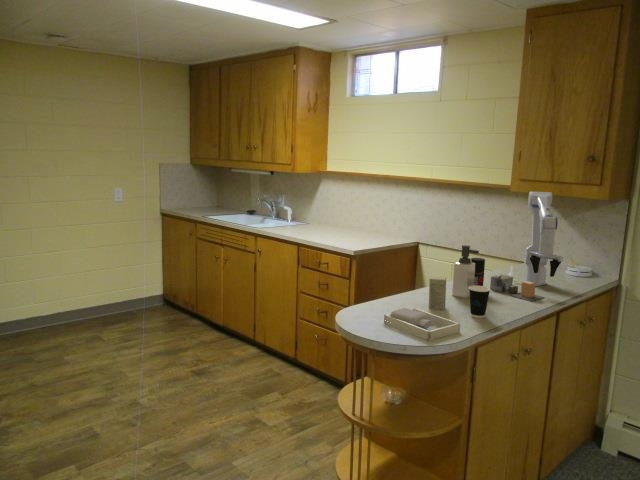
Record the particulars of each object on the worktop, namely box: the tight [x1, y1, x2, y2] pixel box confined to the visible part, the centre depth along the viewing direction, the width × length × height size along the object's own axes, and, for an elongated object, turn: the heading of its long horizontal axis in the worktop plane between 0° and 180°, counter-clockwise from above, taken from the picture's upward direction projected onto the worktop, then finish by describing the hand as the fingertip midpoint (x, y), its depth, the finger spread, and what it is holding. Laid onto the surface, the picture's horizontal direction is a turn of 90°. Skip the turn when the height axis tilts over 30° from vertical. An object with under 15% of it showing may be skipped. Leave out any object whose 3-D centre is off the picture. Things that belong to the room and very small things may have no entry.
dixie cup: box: [469, 285, 492, 319], centre depth 198 cm, size 8×8×11 cm
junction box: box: [489, 274, 514, 294], centre depth 238 cm, size 9×7×7 cm
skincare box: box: [428, 276, 447, 311], centre depth 208 cm, size 6×4×12 cm
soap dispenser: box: [452, 244, 480, 299], centre depth 225 cm, size 6×9×22 cm
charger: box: [391, 307, 436, 329], centre depth 185 cm, size 5×9×15 cm
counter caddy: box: [383, 307, 461, 342], centre depth 185 cm, size 16×22×3 cm
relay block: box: [520, 280, 536, 298], centre depth 226 cm, size 4×4×6 cm
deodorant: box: [470, 257, 486, 286], centre depth 233 cm, size 6×6×15 cm
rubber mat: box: [510, 292, 546, 302], centre depth 227 cm, size 10×10×1 cm
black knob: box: [507, 284, 519, 295], centre depth 233 cm, size 4×4×3 cm
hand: (543, 274), depth 228 cm, fingers open, 7 cm apart
